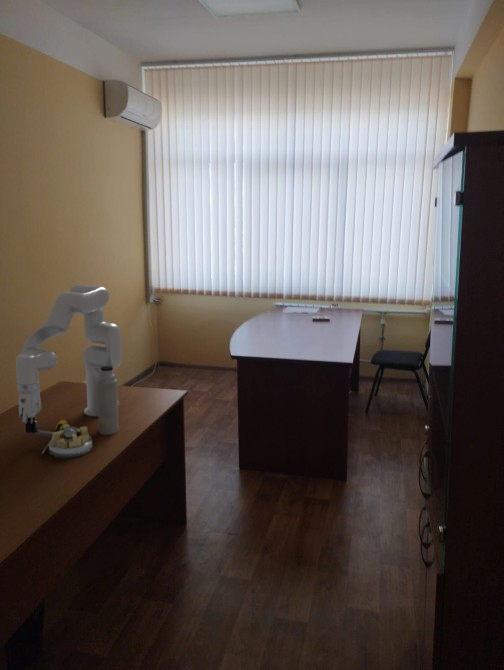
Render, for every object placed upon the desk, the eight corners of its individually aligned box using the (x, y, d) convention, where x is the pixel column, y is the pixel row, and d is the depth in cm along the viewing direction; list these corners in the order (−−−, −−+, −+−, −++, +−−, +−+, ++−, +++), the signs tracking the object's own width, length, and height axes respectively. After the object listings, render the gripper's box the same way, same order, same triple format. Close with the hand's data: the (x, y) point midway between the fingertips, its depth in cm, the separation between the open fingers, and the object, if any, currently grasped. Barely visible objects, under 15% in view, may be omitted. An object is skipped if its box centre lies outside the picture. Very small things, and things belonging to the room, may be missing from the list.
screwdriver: (60, 419, 229) (35, 450, 200) (68, 419, 229) (45, 450, 200) (60, 426, 230) (36, 459, 201) (68, 426, 230) (45, 459, 201)
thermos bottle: (106, 426, 231) (104, 363, 225) (122, 428, 229) (120, 365, 222) (95, 432, 224) (92, 368, 217) (111, 436, 221) (109, 370, 215)
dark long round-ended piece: (93, 436, 213) (93, 420, 211) (77, 449, 200) (76, 433, 199) (41, 429, 217) (40, 415, 215) (22, 442, 205) (21, 427, 203)
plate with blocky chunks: (81, 435, 221) (80, 416, 219) (98, 451, 207) (98, 431, 205) (41, 444, 211) (40, 425, 210) (57, 461, 198) (56, 441, 196)
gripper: (30, 393, 195) (32, 440, 199) (45, 380, 210) (48, 425, 214) (9, 392, 195) (12, 439, 199) (26, 380, 210) (29, 424, 214)
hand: (30, 431), depth 206 cm, fingers closed
